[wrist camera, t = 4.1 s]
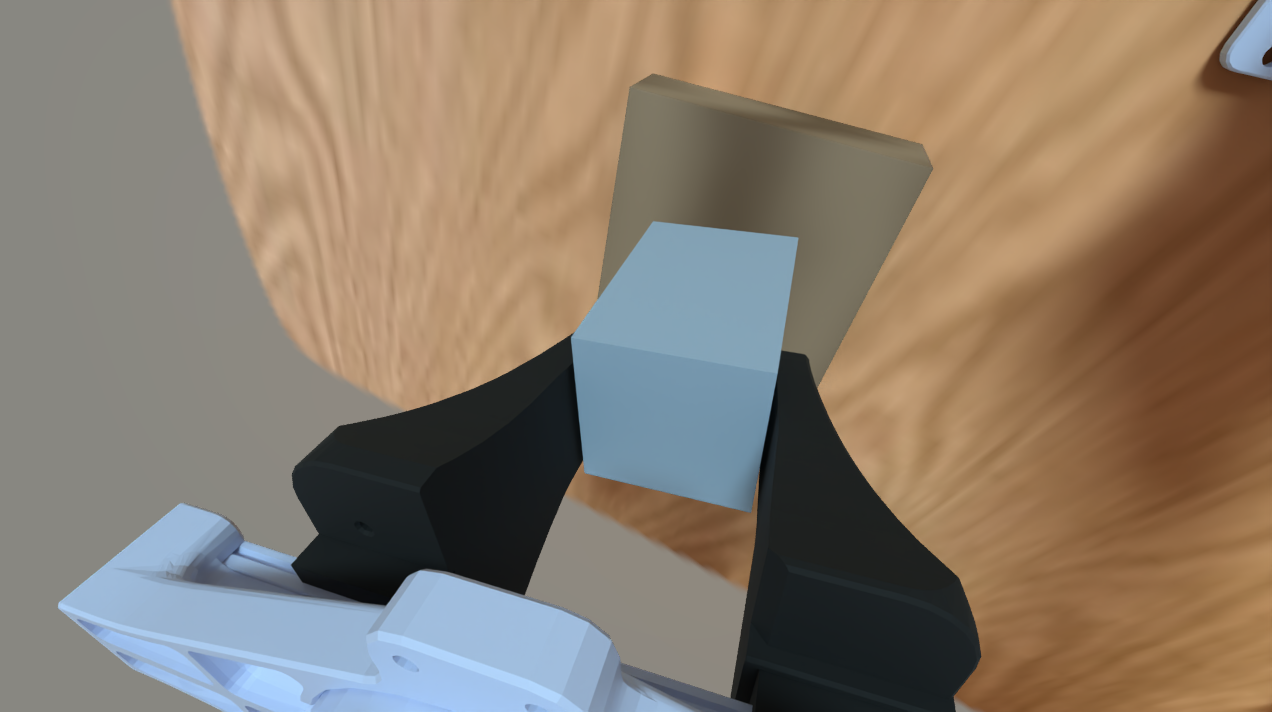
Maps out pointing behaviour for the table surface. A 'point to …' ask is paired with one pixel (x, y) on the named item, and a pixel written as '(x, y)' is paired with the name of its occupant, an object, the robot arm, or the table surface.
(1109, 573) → the table surface
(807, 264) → the taupe plinth
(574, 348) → the slate-blue block
